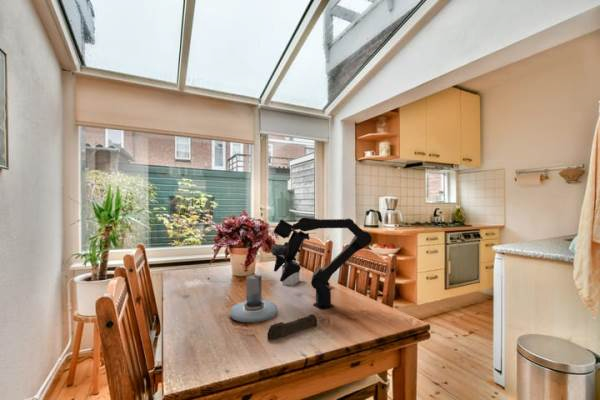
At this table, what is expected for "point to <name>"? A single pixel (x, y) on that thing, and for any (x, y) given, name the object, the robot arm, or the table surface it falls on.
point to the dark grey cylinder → (253, 293)
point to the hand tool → (290, 327)
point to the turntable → (253, 312)
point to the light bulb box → (291, 278)
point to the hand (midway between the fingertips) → (277, 276)
